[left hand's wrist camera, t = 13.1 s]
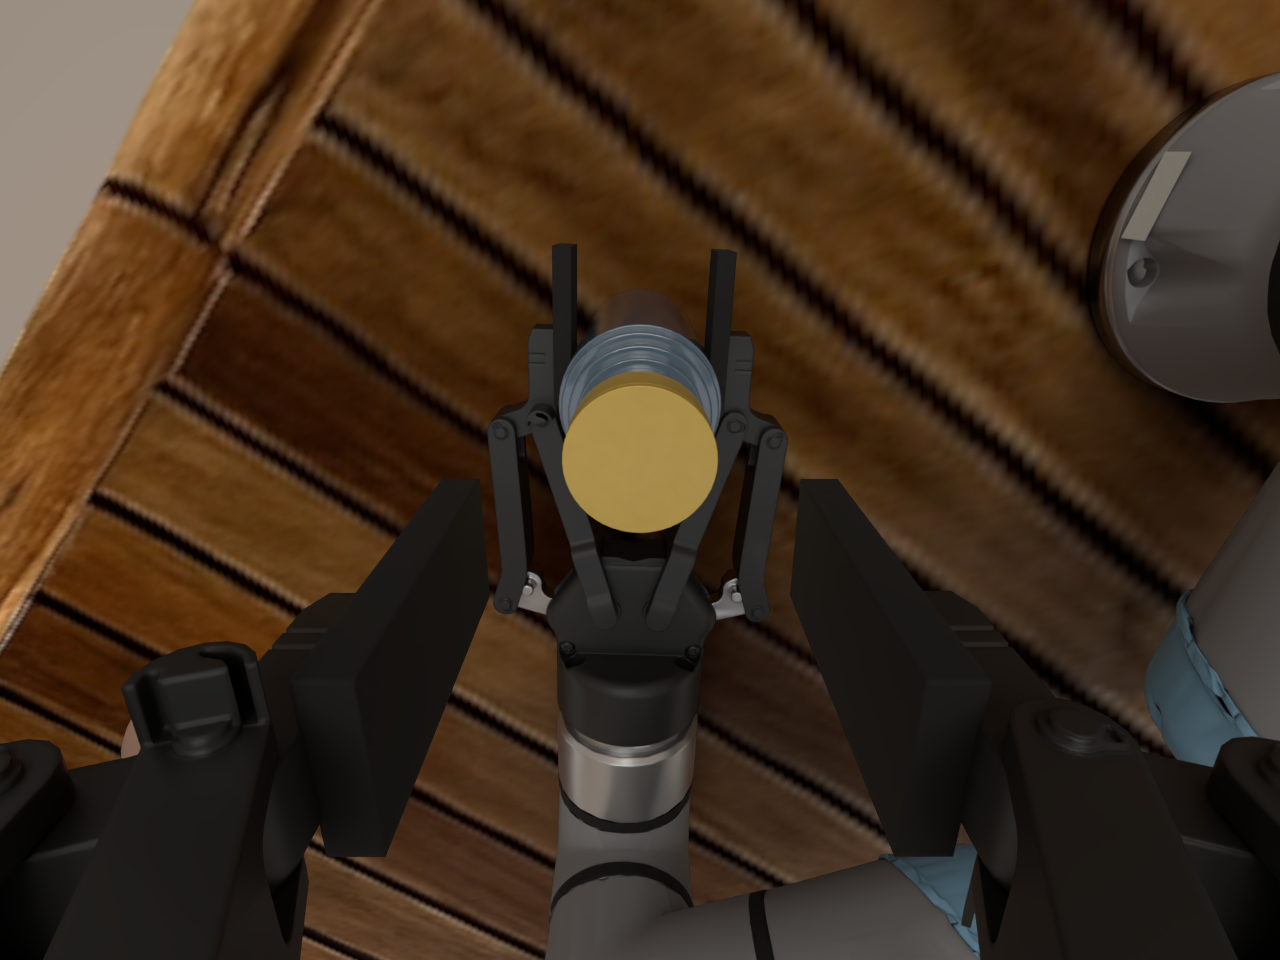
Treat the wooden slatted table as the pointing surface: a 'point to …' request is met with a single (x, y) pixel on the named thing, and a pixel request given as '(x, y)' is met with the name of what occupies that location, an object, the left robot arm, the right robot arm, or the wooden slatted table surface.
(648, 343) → the bottle
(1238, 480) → the wooden slatted table surface
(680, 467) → the cap
